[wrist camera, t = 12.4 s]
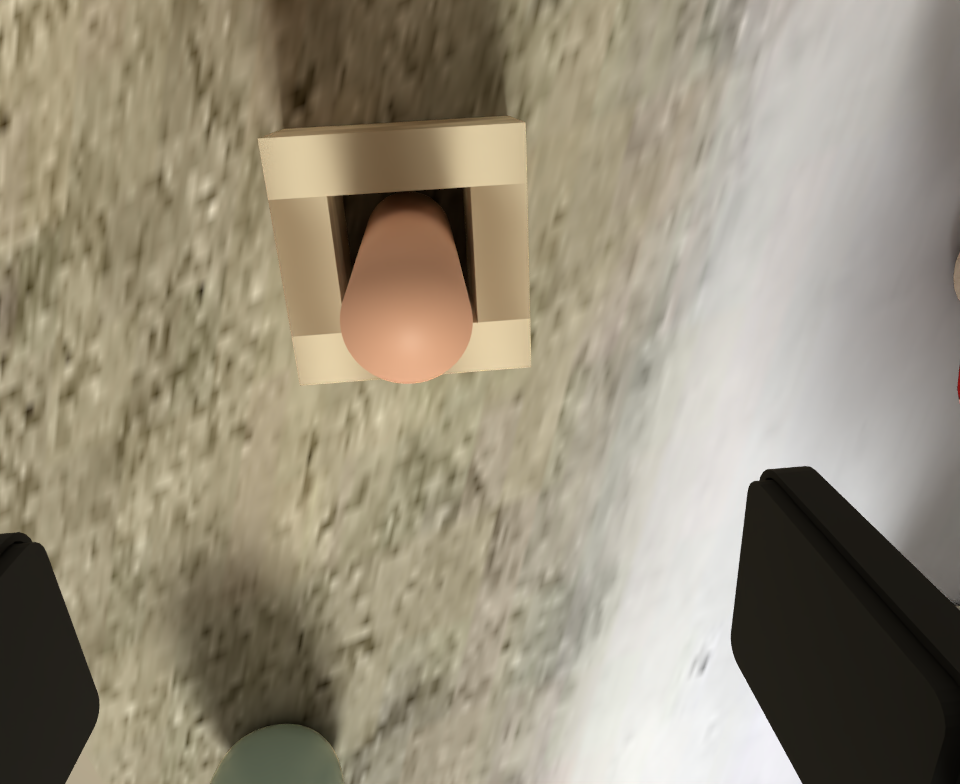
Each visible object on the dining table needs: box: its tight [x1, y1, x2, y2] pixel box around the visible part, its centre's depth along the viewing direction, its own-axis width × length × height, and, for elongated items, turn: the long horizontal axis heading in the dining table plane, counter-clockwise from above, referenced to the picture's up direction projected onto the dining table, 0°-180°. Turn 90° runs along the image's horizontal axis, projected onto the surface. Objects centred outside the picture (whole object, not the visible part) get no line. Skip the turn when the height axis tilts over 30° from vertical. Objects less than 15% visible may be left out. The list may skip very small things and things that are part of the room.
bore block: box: [258, 116, 531, 386], centre depth 28 cm, size 9×9×5 cm
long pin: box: [340, 191, 473, 384], centre depth 24 cm, size 4×4×12 cm
